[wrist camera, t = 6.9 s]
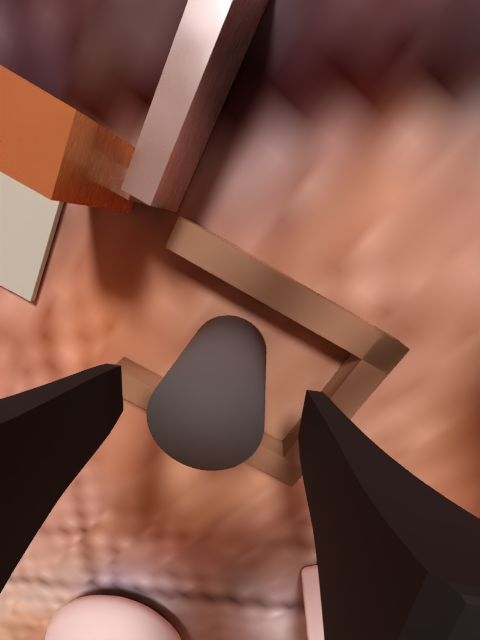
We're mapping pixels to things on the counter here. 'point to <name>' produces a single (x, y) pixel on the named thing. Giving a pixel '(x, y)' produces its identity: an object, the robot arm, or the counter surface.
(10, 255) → the off-white flat square block
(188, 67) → the latch bar
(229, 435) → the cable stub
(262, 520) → the counter surface
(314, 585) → the medicine bottle
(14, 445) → the robot arm
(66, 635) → the flower in vase
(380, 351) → the frame
